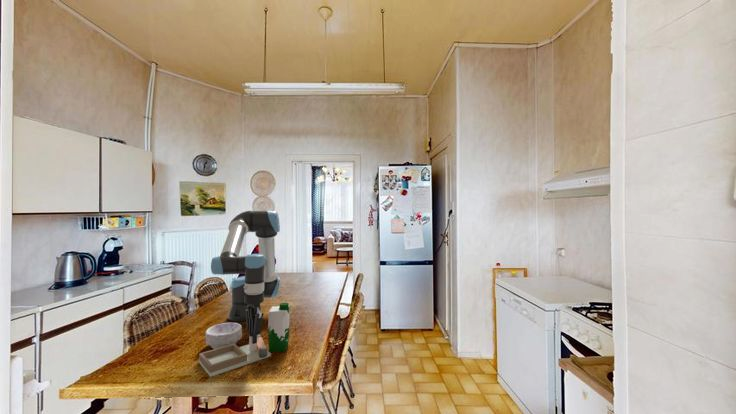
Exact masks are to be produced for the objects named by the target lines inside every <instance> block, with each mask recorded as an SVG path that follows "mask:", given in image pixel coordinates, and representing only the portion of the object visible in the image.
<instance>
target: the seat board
mask: <svg viewBox="0 0 736 414" xmlns="http://www.w3.org/2000/svg"><path fill="white" fill-rule="evenodd" d="M269 357H272V352H269V350H267V356H266V357H264V358H260V357H259V356H258V353H257V351H253V352H250V351H249V343H248V344H245V345H242V346H238V345H237V343H236V344H231V345H227V346H224V347H220V348H217V349H211V350H207V351H203V352H200V353H199V355H198V363H199V365H200V366H201V367H202V368H203V370H204V372H206V374H208V377H210V378H211V377H214V376H216V375H219V373H220V374H222V373H225V372H228V371H231V370H233V369H234V370H235V369H238V368H240V367H243V366H246V365H248V364H252V363H254V362H258V361H261V360H263V359H266V358H269Z"/></svg>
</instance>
